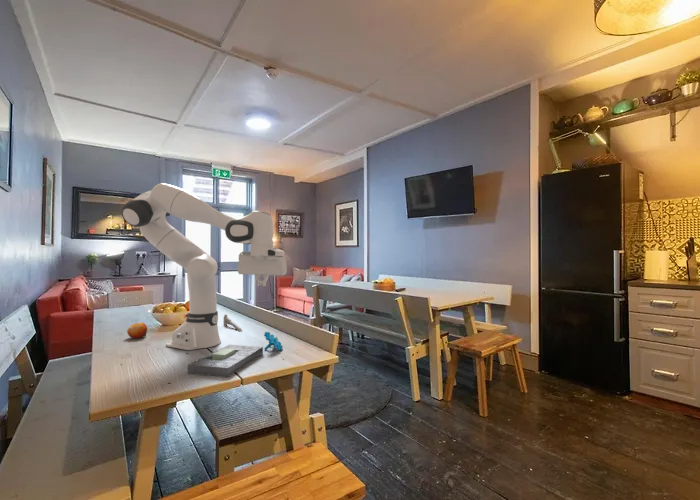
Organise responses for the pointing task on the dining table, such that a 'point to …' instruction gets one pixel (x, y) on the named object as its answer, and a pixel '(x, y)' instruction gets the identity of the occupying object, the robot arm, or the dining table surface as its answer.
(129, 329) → the fruit
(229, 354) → the block
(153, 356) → the dining table surface
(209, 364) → the pocket plate
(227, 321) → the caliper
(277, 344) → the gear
